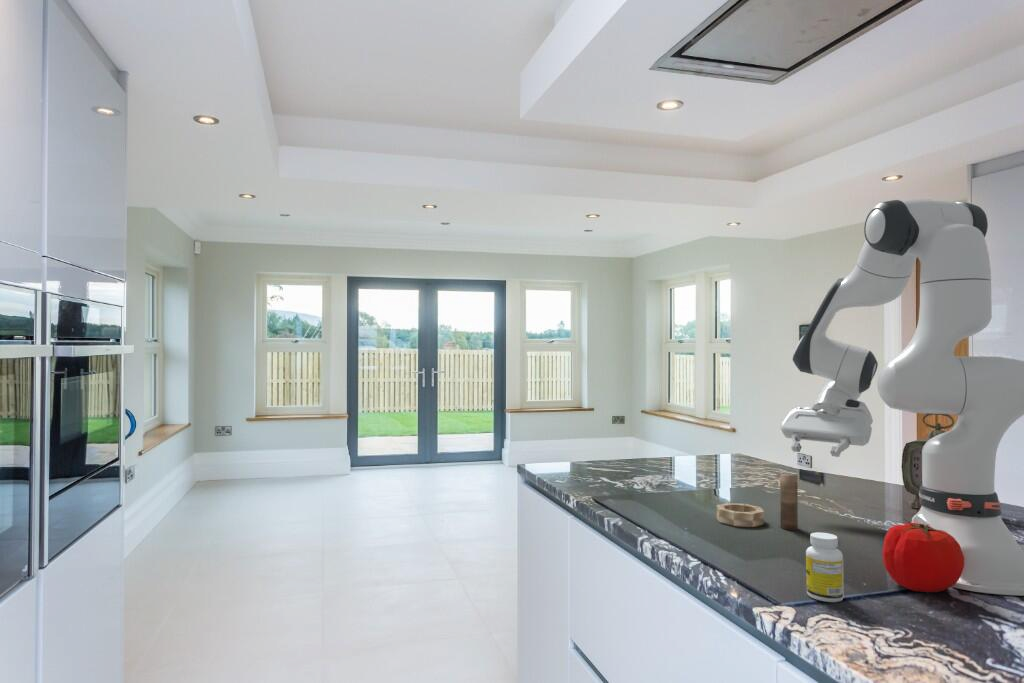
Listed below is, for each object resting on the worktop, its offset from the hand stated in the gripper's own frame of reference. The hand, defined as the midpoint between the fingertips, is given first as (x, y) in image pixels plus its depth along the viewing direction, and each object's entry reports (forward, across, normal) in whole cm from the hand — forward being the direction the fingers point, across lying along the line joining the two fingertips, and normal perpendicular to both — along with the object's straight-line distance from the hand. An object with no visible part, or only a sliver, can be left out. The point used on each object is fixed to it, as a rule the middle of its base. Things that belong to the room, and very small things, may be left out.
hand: (814, 452), depth 151 cm
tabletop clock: (-14, +15, +37) cm, 42 cm away
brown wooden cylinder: (+20, 0, +3) cm, 20 cm away
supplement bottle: (+45, +25, -22) cm, 56 cm away
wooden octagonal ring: (+22, -10, 0) cm, 24 cm away
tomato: (+34, +33, -10) cm, 48 cm away
